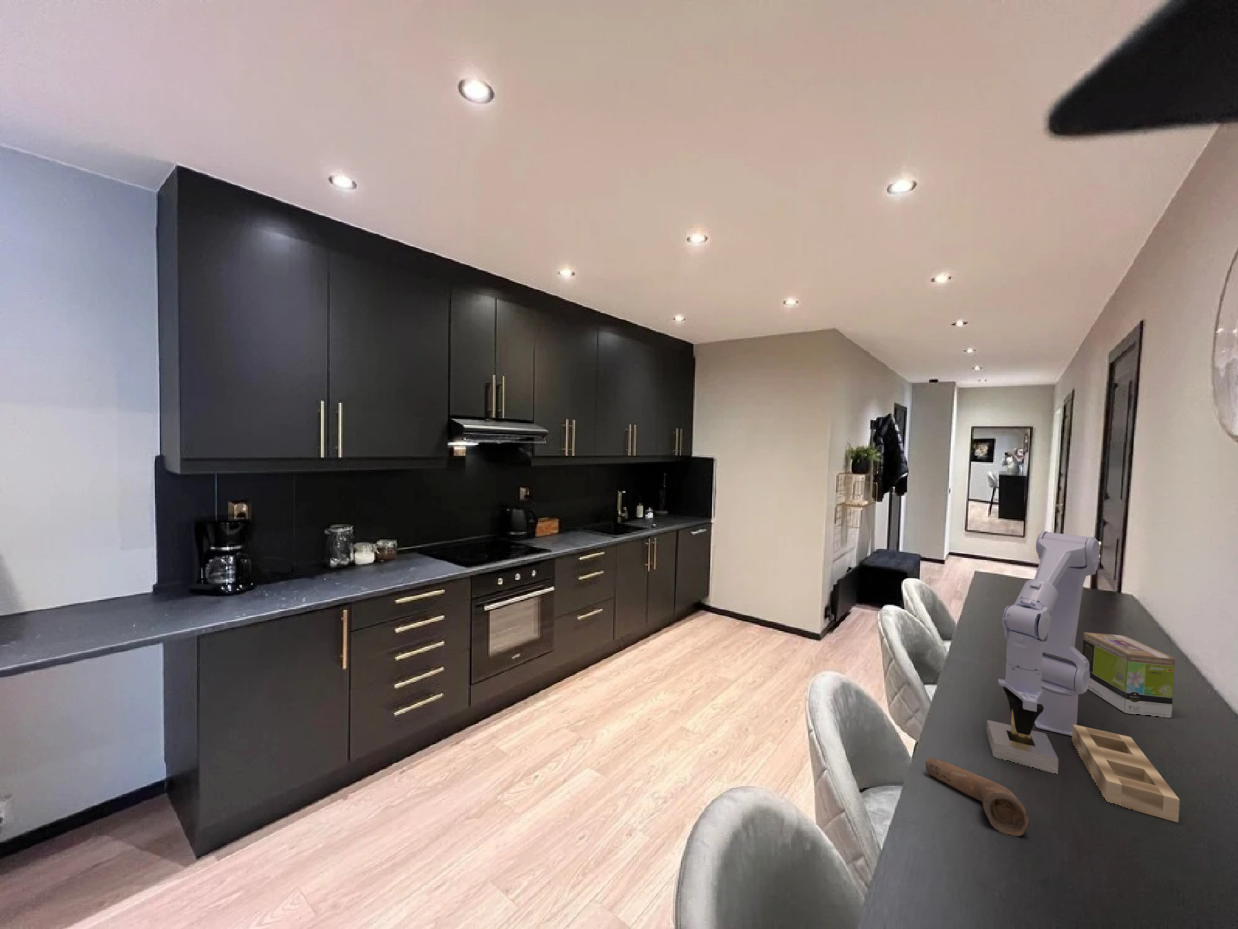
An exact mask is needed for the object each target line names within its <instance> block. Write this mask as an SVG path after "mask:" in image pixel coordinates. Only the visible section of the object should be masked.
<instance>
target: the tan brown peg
mask: <svg viewBox="0 0 1238 929" xmlns="http://www.w3.org/2000/svg"><path fill="white" fill-rule="evenodd" d="M1010 720H1011V723H1010V725H1011V741H1015V742H1019V743H1023V744H1027V745H1030V743H1031V733H1030V735H1025V734H1021V733H1017V731H1016V728H1015V723H1014V716H1013V711H1012V717H1011V719H1010Z"/></svg>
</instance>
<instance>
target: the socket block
mask: <svg viewBox="0 0 1238 929" xmlns="http://www.w3.org/2000/svg"><path fill="white" fill-rule="evenodd" d="M986 735H987V739H988V743H989V746H990V749H991V750H990V751H991V753H992V756H993V758H994V757H995V759H999V760H1002V759H1003V760H1002V761H1006V760H1010V761H1012V762H1011V763H1013V762H1015V764H1017V763H1019V764H1018V765H1021V764H1022V765H1021V766H1024V765H1025V767H1028V766H1029V767H1030V768H1032V767H1034V768H1033V769H1036V768H1037V769H1036V770H1039V769H1040V770H1041V771H1044V772H1048V773H1052V774H1055V773H1056V774H1055V775H1058V774H1059V757H1058V755H1057V753H1056V752H1055V749H1054V748H1053V745H1052V744H1051V741H1050V740H1049V736H1048V734H1047V733H1044V732H1041V731H1038V730H1037V731H1036V730H1033V729H1032V731H1031V743H1030V745H1027V744H1023V743H1019V742H1015V741H1011V724H1007V723H1004V722H1003V723H1002V722H997V721H994V720H989V719H987V721H986Z"/></svg>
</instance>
